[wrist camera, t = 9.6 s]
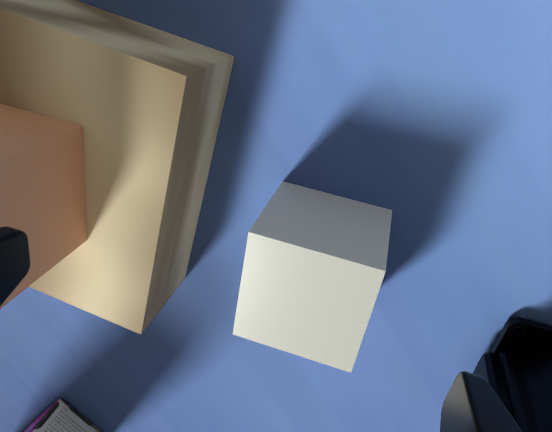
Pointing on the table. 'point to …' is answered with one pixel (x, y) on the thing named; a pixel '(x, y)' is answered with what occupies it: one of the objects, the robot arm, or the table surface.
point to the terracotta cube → (42, 187)
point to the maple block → (120, 144)
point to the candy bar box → (61, 420)
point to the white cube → (313, 274)
